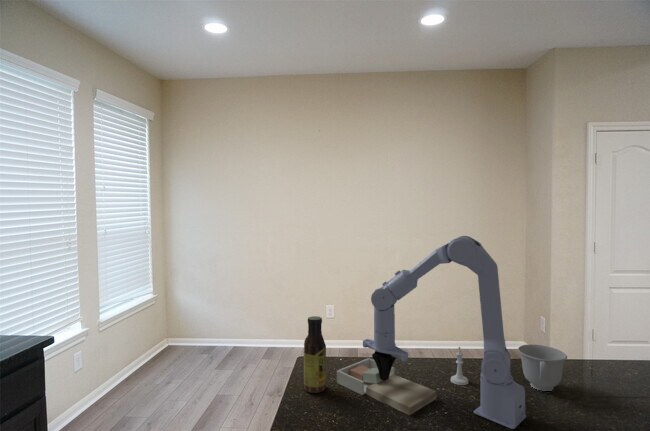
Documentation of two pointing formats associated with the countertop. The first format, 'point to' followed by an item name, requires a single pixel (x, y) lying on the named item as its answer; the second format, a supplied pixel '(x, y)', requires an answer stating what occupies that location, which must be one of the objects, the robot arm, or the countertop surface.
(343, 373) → the tray
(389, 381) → the board
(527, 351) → the teacup
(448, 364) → the countertop surface
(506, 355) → the robot arm
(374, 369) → the tile sage
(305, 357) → the sauce bottle
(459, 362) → the chess piece
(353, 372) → the tile terracotta
